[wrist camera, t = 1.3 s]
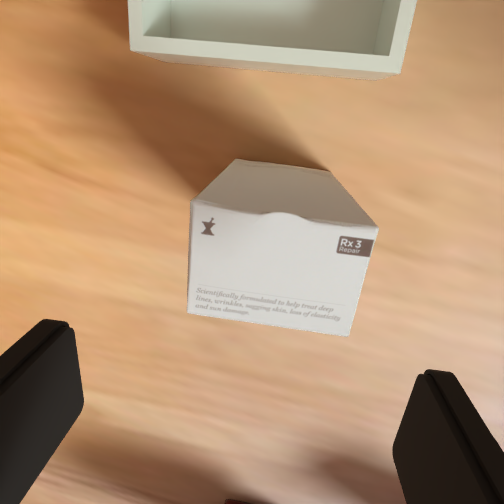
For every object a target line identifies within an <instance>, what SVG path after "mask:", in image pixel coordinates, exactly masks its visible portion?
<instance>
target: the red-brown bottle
mask: <svg viewBox="0 0 504 504" xmlns="http://www.w3.org/2000/svg"><path fill="white" fill-rule="evenodd" d="M225 504H250V503H245V502H240V501H235V500H230V499H226V501H225Z"/></svg>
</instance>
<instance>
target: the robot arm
mask: <svg viewBox="0 0 504 504" xmlns="http://www.w3.org/2000/svg"><path fill="white" fill-rule="evenodd" d="M83 404H84V397H83V390H82V383H81V375H80V368H79V361H78V354H77V347H76V340H75V333H74V330H73V328H70V327H69V324H68V323H67V322H65V321H57V320H50V319H43V320H42V321H40V322H39V323H38V324H36V325H35V326H34V327H33V328H32V329H31V330H30V331H28V332H27V333H26V334H25V335H24V336H23V337H22V338H20V339H19V340H18V341H17V342H16V343H15V344H13V345H12V346H11V347H10V348H9V349H8V350H7V351H5V352H4V353H3V354H2V355H1V356H0V504H20V502H21V501H22V499H23V498H24V496H25V495H26V493H27V492H28V490H29V489H30V487H31V486H32V484H33V483H34V481H35V480H36V479H37V477H38V476H39V474H40V473H41V471H42V470H43V468H44V467H45V465H46V464H47V462H48V461H49V459H50V458H51V456H52V455H53V453H54V452H55V450H56V449H57V447H58V446H59V444H60V443H61V441H62V440H63V438H64V437H65V435H66V434H67V433H68V431H69V430H70V428H71V427H72V425H73V424H74V422H75V421H76V419H77V418H78V416H79V415H80V413H81V411H82V408H83ZM393 459H394V463H395V466H396V469H397V473H398V476H399V479H400V483H401V486H402V489H403V493H404V496H405V499H406V503H407V504H504V452H503V451H502V449H501V447H500V446H499V444H498V443H497V441H496V440H495V439H494V437H493V436H492V434H491V433H490V431H489V429H488V428H487V426H486V425H485V423H484V421H483V420H482V418H481V417H480V415H479V413H478V412H477V410H476V409H475V407H474V405H473V404H472V402H471V401H470V399H469V397H468V396H467V394H466V392H465V391H464V389H463V388H462V386H461V384H460V383H459V381H458V380H457V378H456V376H455V375H454V374H453V373H451V372H446V371H439V370H431V369H428V370H426V371H425V372H424V374H419V375H418V376H417V379H416V381H415V384H414V387H413V390H412V393H411V396H410V398H409V401H408V404H407V407H406V410H405V412H404V415H403V418H402V421H401V424H400V427H399V429H398V432H397V435H396V438H395V441H394V444H393Z"/></svg>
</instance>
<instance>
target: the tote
mask: <svg viewBox="0 0 504 504" xmlns="http://www.w3.org/2000/svg"><path fill="white" fill-rule="evenodd" d="M416 2H417V0H128V16H129V38H130V51H133V52H136V53H139V54H142V55H145V56H148V57H151V58H154V59H157V60H160V61H163V62H169V63H180V64H192V65H203V66H214V67H226V68H237V69H249V70H260V71H272V72H283V73H294V74H306V75H317V76H329V77H340V78H352V79H363V80H375V81H377V80H381V79H384V78H387V77H391V76H394V75H397V74H400V72H401V68H402V64H403V59H404V55H405V51H406V46H407V42H408V37H409V33H410V29H411V24H412V20H413V16H414V11H415V7H416Z"/></svg>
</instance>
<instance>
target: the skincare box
mask: <svg viewBox="0 0 504 504" xmlns="http://www.w3.org/2000/svg"><path fill="white" fill-rule="evenodd" d="M378 230H379V228H378V226H377V225H376V224H375V223H374V222H373V220H372V219H371V218H370V217H369V216H368V215H367V213H366V212H365V211H364V210H363V209H362V208H361V207H360V206H359V204H358V203H357V202H356V201H355V200H354V199H353V197H352V196H351V195H350V194H349V193H348V192H347V190H346V189H345V188H344V187H343V186H342V185H341V183H340V182H339V181H338V180H337V179H336V178H335V177H334V175H333V174H332V173H331V172H329V171H325V170H318V169H312V168H305V167H299V166H291V165H284V164H276V163H269V162H256V161H248V160H242V159H235V160H234V161H233V162H232V163H231V164H230V165H229V166H228V167H227V168H226V169H225V170H223V171H222V172H221V173H220V174H219V175H218V176H217V177H216V178H215V179H214V180H213V181H212V182H211V183H210V184H209V185H208V186H207V187H206V188H205V189H204V190H202V192H201V193H199V194H198V195H197V196H196V197H195V198H193V199H192V200H191V202H190V226H189V252H188V288H187V313H190V314H195V315H202V316H209V317H216V318H223V319H230V320H236V321H243V322H250V323H257V324H263V325H270V326H277V327H283V328H290V329H297V330H304V331H311V332H318V333H324V334H331V335H337V336H344V337H348V336H349V333H350V329H351V326H352V323H353V319H354V315H355V311H356V308H357V304H358V300H359V296H360V292H361V289H362V285H363V281H364V278H365V274H366V271H367V267H368V264H369V260H370V257H371V254H372V250H373V247H374V243H375V240H376V237H377V233H378Z"/></svg>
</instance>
